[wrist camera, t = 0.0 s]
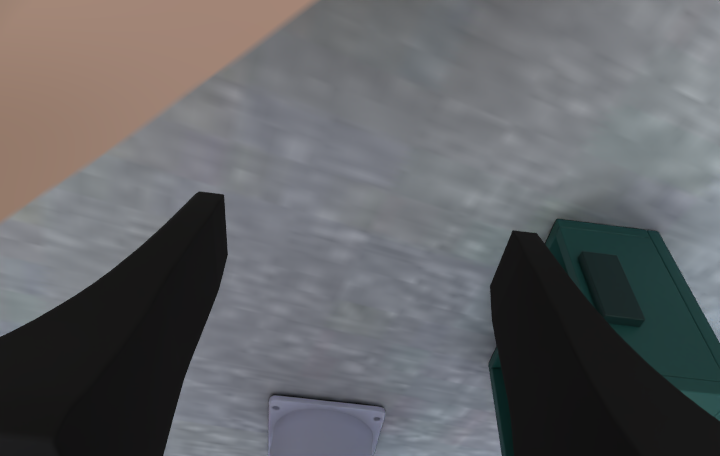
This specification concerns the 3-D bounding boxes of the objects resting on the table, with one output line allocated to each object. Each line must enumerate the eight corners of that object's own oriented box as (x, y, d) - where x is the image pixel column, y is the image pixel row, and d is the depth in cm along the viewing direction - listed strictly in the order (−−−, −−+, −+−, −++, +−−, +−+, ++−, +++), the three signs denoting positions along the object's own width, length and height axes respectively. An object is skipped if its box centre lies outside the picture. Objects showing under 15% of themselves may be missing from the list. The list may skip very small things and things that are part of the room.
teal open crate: (563, 377, 34) (604, 532, 27) (485, 368, 34) (507, 521, 27) (663, 222, 26) (760, 391, 19) (560, 209, 25) (619, 374, 19)
